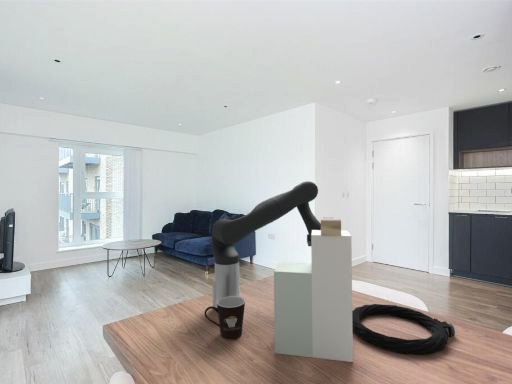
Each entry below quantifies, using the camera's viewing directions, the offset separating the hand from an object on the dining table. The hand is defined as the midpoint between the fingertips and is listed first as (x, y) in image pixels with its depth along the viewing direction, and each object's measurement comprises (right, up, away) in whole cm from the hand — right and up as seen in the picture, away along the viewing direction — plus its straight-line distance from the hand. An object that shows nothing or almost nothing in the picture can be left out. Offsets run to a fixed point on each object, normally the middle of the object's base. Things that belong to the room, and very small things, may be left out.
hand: (328, 233), depth 93 cm
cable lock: (+20, -30, -7) cm, 37 cm away
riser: (-8, -30, -15) cm, 34 cm away
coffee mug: (-33, -30, -7) cm, 45 cm away
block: (-3, +3, -12) cm, 12 cm away
